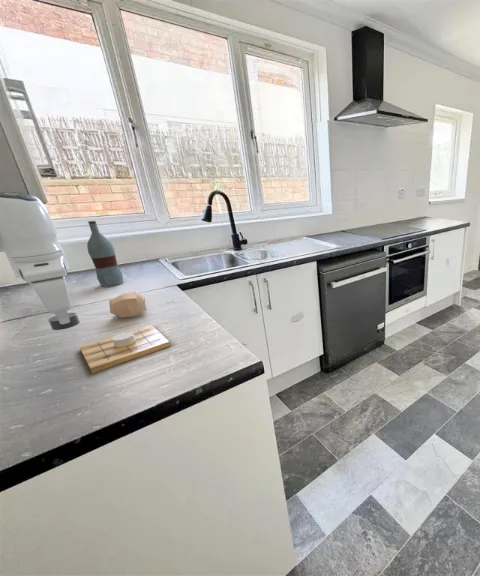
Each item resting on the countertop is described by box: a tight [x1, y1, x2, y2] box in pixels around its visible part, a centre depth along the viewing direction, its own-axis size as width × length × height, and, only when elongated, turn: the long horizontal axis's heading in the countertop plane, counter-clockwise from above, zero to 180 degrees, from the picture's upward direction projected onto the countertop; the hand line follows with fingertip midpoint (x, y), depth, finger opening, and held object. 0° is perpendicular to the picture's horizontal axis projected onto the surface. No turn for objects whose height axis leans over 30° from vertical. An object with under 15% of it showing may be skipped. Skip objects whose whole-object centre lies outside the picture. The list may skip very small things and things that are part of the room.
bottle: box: [86, 220, 124, 288], centre depth 144 cm, size 9×9×30 cm
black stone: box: [47, 312, 81, 331], centre depth 76 cm, size 5×5×2 cm
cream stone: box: [112, 331, 136, 348], centre depth 92 cm, size 5×5×2 cm
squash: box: [108, 291, 147, 319], centre depth 116 cm, size 11×20×9 cm, turn 37°
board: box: [78, 324, 172, 374], centre depth 92 cm, size 18×18×2 cm
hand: (63, 319), depth 76 cm, fingers closed on black stone, 5 cm apart
